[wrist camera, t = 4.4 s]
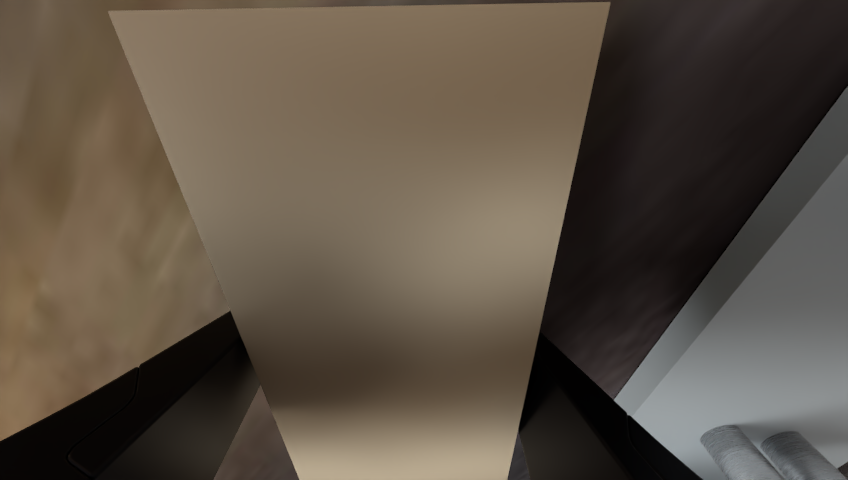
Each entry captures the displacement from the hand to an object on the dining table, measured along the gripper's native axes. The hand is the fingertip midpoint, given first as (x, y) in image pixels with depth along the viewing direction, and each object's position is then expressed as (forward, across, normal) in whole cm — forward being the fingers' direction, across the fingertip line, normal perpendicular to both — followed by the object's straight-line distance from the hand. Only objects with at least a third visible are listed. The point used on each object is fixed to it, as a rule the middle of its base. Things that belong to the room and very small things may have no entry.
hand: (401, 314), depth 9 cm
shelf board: (+2, 0, 0) cm, 2 cm away
